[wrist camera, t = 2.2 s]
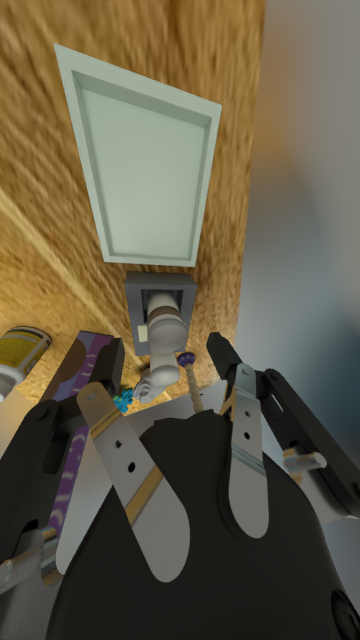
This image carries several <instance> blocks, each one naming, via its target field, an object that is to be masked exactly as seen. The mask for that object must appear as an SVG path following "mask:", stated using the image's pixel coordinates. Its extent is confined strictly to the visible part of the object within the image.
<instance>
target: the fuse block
mask: <svg viewBox="0 0 360 640" xmlns="http://www.w3.org/2000/svg"><path fill="white" fill-rule="evenodd" d="M124 284H125V290H126V297H127V303H128V309H129V316H130V322H131V328H132V334H133V341H134V347H135V353H136V356H143V355H150V383H151V384H152V385H154V386H157V387H165V386H169V385H172V384H174V383H176V382H177V381H178V380H179V379H180V373H179V369H178V366H177V361H176V356H175V352H184V351H185V346H186V343H185V345H184V346H183V347H181V348H180V349H178V350H176V351H173V352H169V353H161V352H157V351H154V350H153V349H151V348H150V347H149V345H148V342H147V333H148V331H147V318H148V297H147V296H148V291H149V290H150V289H161V290H172V292H173V295H174V298H175V301H176V304H177V306H178V309H179V312H180V314H181V316H182V319H183V322H184V325H185V328H186V330H187V333H188V331H189V326H190V321H191V316H192V311H193V306H194V301H195V295H196V290H197V284H196V283H195V281H194V280H193V279H192V277H191V276H190V275H189V274H180V273H157V272H133V271H128V274H127V277H126V280H125V283H124Z"/></svg>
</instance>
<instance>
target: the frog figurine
mask: <svg viewBox="0 0 360 640" xmlns="http://www.w3.org/2000/svg"><path fill="white" fill-rule="evenodd" d="M166 387H167V386H165V387H157V386H154V385H152V384H151V383H150V368H147V369H146V370H145V371H144V372H143V373H142V375H141V377H140V381H139V382H138V383H137V384H136V386H135V387H134V391H133V392H134V393H133V397H134V398H135V399H139V401H140V403H142V404H145V403H149V402H151V401H153V399H154V398H155V397H157V396H158V395H160V394H161V393H162V392H163V391H164V390H165V389H166Z"/></svg>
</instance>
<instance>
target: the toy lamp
mask: <svg viewBox="0 0 360 640" xmlns="http://www.w3.org/2000/svg"><path fill="white" fill-rule="evenodd" d="M177 361H178V363H179V365H180V366H182V367H185V370H186V376H187V378H188V385H189V391H190V393H191V399H192V402H193V408H194V411H195V413H198V412H200V411H203V405H202V403H201V398H200V394H199V393H198V386H197V385H196V379H195V377H194V372H193V367H192V365H193V363H194V361H195V356H194V354H192V353H183V354H181V355H180V356H179V357H178V358H177Z"/></svg>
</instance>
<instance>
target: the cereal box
mask: <svg viewBox="0 0 360 640" xmlns="http://www.w3.org/2000/svg"><path fill="white" fill-rule="evenodd" d="M113 337H114V336H111V335H105V334H99V333H93V332H87V331H80V332H79V334H78V336H77V337H76V339H75V341H74V343H73V344H72V346H71V348H70V349H69V351H68V353H67V355H66V356H65V358H64V360H63V361H62V363H61V365H60V366H59V368H58V370H57V372H56V373H55V375H54V377H53V378H52V380H51V382H50V384H49V385H48V387H47V389H46V390H45V392H44V394H43V395H42V397H41V399H40V401H39V402H38V404H39V403H40V402H42V401H45V400H49V399H54V400H56V401H57V402H58V401H61V400H63V399H66V398H68V397H70V396H73V395H75V394H77V393H78V392H79V391H80V390H81V389H82V388H83V387H84V386H86V385H87V383H88V381H89V378H90V375H91V373H92V370H93V367H94V365H95V362H96V359H97V357H98V354H99V351H100V350H101V348H102V347H103V346H104V345H109V344H110V341H111V338H113ZM88 432H89V427H88V425H86V426H84V427H82V428H80V429H79V430H77V431H75V433H74V437H73V440H72V444H71V447H70V450H69V454H68V457H67V461H66V464H65V468H64V471H63V474H62V478H61V481H60V485H59V488H58V492H57V495H56V499H55V502H54V505H53V509H52V512H51V516H50V519H49V523H48V526H52V527H54V528H55V530H56V532H57V536H58V543H59V539H60V535H61V532H62V528H63V524H64V521H65V517H66V514H67V510H68V506H69V502H70V499H71V495H72V491H73V488H74V484H75V480H76V477H77V473H78V469H79V465H80V462H81V458H82V454H83V451H84V447H85V443H86V439H87V436H88ZM58 543H57V547H58ZM56 551H57V549H56Z"/></svg>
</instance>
